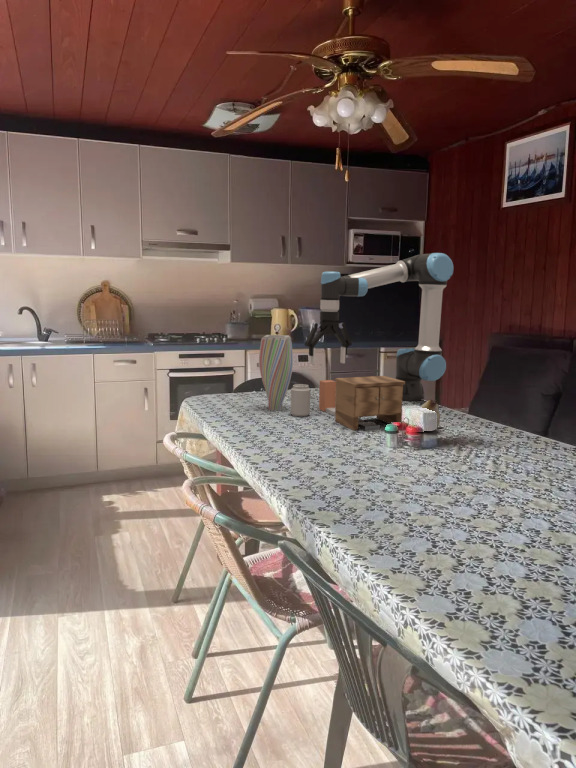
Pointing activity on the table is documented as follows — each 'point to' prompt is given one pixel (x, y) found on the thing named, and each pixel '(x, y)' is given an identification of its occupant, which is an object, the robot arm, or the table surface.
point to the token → (368, 426)
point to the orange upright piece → (329, 397)
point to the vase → (276, 367)
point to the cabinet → (368, 399)
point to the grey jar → (300, 400)
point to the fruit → (432, 408)
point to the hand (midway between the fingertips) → (327, 363)
